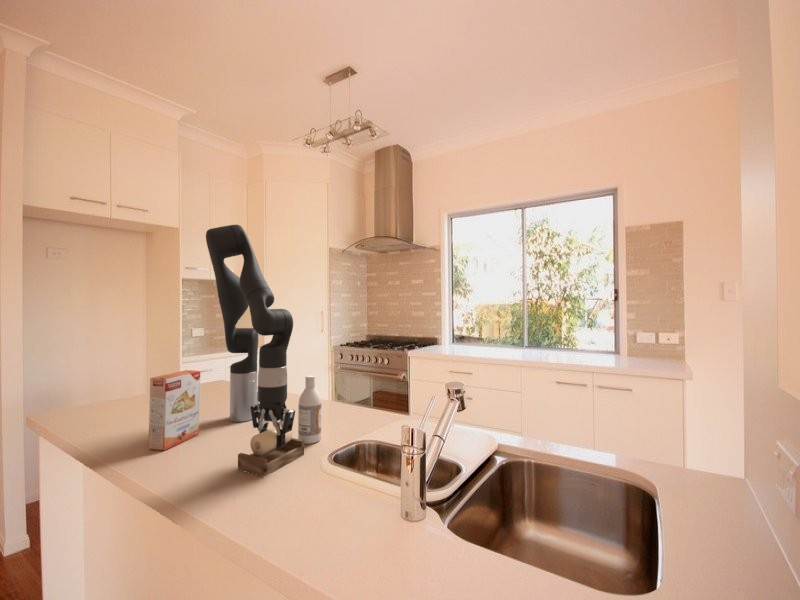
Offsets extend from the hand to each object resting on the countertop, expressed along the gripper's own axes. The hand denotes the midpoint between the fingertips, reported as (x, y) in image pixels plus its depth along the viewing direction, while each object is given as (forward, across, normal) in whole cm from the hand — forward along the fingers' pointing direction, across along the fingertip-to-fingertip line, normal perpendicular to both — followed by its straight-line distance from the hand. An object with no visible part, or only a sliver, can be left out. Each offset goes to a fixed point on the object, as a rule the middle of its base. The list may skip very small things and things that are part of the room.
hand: (272, 445), depth 100 cm
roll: (+1, 0, 0) cm, 1 cm away
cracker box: (+5, +37, +2) cm, 37 cm away
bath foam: (+5, +1, -17) cm, 18 cm away
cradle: (+4, 0, 0) cm, 4 cm away
